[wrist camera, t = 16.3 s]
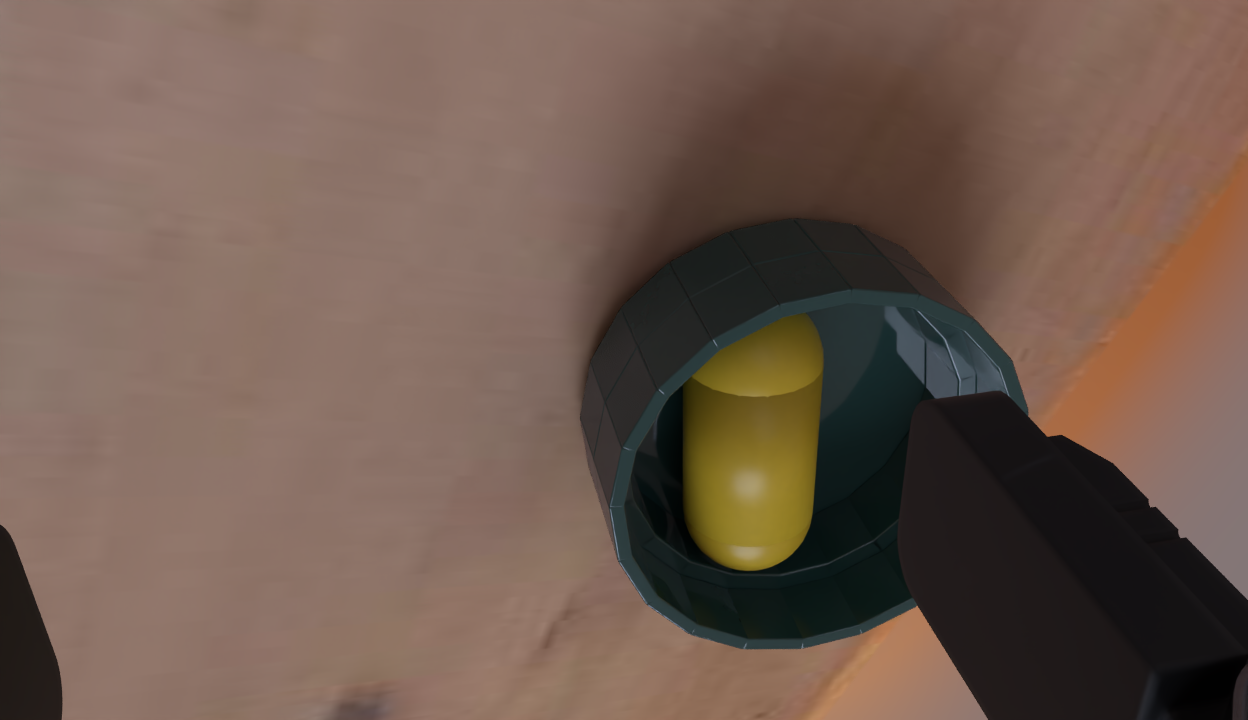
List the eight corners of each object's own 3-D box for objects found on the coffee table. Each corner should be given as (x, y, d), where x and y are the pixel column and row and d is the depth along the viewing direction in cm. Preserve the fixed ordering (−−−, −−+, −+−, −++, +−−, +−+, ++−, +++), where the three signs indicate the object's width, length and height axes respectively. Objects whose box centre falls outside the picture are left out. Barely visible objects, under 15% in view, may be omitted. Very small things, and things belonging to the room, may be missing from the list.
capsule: (791, 257, 40) (663, 277, 38) (854, 317, 36) (714, 342, 35) (777, 506, 45) (665, 530, 44) (831, 581, 41) (709, 611, 40)
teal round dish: (702, 147, 37) (758, 220, 32) (1019, 298, 43) (1109, 381, 38) (512, 483, 42) (535, 592, 37) (818, 580, 48) (874, 686, 43)
